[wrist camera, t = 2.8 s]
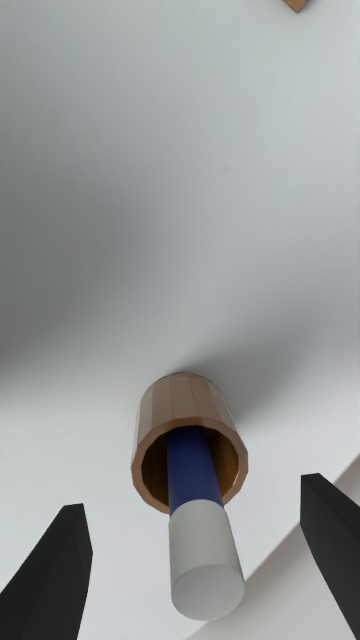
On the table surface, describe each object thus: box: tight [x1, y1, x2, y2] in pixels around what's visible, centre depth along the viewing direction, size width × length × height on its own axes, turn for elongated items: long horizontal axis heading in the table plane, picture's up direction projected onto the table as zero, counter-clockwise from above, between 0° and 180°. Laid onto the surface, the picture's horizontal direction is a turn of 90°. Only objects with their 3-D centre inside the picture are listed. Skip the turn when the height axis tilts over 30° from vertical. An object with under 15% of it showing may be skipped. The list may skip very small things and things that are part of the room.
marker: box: [166, 425, 245, 620], centre depth 12 cm, size 2×2×8 cm
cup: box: [131, 373, 248, 514], centre depth 14 cm, size 5×5×4 cm
